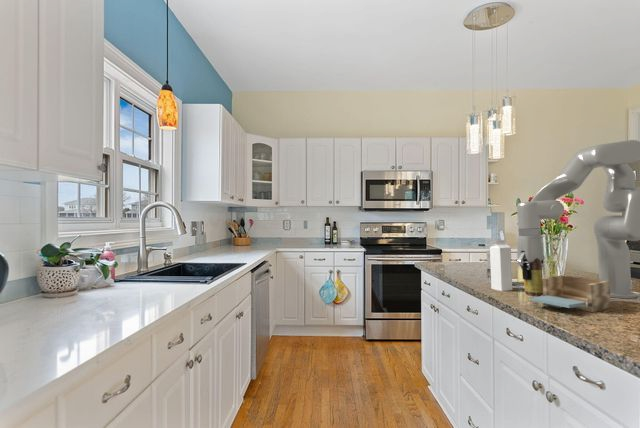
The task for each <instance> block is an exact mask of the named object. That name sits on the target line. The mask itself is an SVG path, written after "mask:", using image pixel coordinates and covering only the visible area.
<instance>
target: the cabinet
mask: <svg viewBox="0 0 640 428" xmlns="http://www.w3.org/2000/svg"><path fill="white" fill-rule="evenodd" d="M542 280H543V295H542V296H547V295H548V296H553V297H559V298H565V299H570V300H576V301H582V302H586V305H584V306H578V307H572V308H571V309H577V310H582V311H587V312H590V313H594V312H598V311H602V310H605V309H609V308H611V307H612V304H611V297H610V281H604V280H599V279H593V278H586V277H579V276H570V275H563V274H562V275H561V274H560V275H556V276H555V275H554V276H550V277H544V278H543V277H542Z"/></svg>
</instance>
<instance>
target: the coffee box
mask: <svg viewBox="0 0 640 428" xmlns="http://www.w3.org/2000/svg"><path fill="white" fill-rule="evenodd" d="M486 271H487V272H486V273H487V278H486V279H487V284H489V285H491V264H490V250H486Z"/></svg>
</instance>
